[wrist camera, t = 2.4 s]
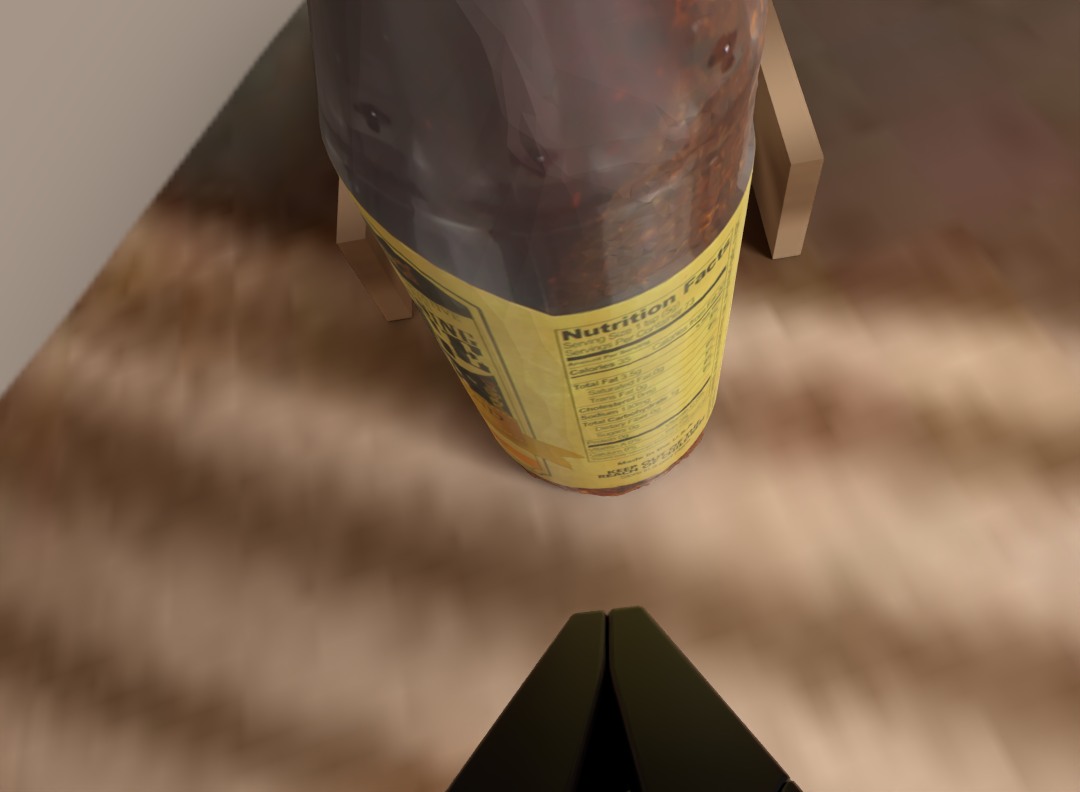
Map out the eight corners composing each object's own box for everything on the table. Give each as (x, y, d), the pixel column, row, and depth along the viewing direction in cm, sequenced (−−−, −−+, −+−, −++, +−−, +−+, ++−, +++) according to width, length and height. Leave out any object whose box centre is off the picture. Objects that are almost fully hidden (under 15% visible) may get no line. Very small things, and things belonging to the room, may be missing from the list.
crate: (800, 255, 22) (824, 158, 19) (387, 321, 24) (336, 243, 20) (723, -9, 27) (731, -124, 24) (389, 58, 29) (349, -41, 25)
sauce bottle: (486, 328, 23) (-160, -1137, 5) (693, 291, 22) (761, -1514, 5) (504, 538, 20) (-824, -1167, 2) (743, 502, 19) (1467, -2210, 2)
